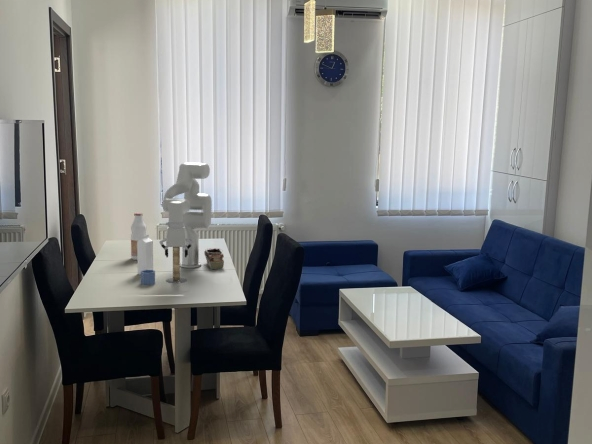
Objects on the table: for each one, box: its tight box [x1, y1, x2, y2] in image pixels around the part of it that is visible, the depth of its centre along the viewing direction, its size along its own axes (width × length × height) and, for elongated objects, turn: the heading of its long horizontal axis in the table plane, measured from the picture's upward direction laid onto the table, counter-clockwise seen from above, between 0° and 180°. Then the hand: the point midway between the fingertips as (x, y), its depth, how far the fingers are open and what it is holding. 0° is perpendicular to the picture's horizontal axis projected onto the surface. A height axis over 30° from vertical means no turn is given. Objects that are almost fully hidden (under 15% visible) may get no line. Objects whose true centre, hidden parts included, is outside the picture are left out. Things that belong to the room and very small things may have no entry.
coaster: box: [165, 277, 188, 284], centre depth 325 cm, size 11×11×1 cm
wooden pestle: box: [172, 247, 181, 281], centre depth 323 cm, size 4×4×18 cm
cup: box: [140, 269, 156, 286], centre depth 318 cm, size 7×7×7 cm
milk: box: [137, 234, 154, 275], centre depth 336 cm, size 6×6×22 cm
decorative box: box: [204, 247, 225, 270], centre depth 361 cm, size 13×20×10 cm, turn 12°
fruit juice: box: [130, 212, 148, 261], centre depth 372 cm, size 9×9×28 cm
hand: (176, 256), depth 323 cm, fingers open, 9 cm apart
